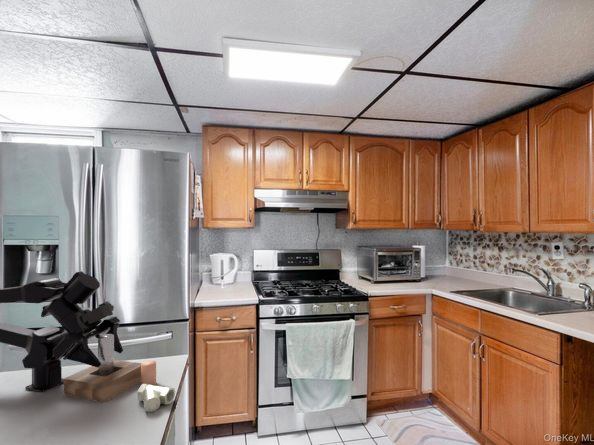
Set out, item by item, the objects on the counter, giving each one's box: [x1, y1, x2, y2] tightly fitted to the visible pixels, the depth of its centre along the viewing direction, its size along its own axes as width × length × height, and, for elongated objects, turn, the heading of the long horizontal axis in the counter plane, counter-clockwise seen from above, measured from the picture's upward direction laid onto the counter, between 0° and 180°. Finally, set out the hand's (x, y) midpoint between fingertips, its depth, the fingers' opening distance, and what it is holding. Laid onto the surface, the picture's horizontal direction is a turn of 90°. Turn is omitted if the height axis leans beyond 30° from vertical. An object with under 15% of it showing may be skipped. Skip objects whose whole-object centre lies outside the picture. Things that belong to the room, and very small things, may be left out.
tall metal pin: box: [97, 334, 115, 377], centre depth 86 cm, size 4×4×13 cm
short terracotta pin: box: [140, 360, 157, 386], centre depth 86 cm, size 4×4×6 cm
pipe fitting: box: [136, 384, 176, 413], centre depth 76 cm, size 8×4×7 cm
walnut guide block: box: [63, 359, 143, 403], centre depth 86 cm, size 13×13×4 cm
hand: (111, 358), depth 86 cm, fingers open, 9 cm apart
